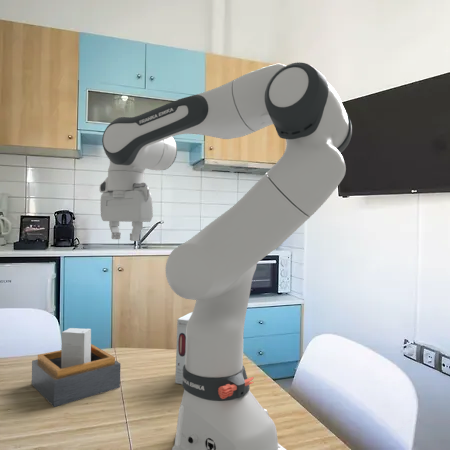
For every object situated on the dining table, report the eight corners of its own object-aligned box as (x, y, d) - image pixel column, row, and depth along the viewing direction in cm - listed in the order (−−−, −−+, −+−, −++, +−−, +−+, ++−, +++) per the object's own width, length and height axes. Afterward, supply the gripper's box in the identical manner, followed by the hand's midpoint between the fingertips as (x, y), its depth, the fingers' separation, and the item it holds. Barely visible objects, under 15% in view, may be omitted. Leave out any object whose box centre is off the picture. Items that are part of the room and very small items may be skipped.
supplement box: (174, 383, 98) (175, 318, 98) (188, 370, 107) (190, 311, 107) (208, 389, 95) (210, 322, 95) (220, 375, 104) (222, 314, 104)
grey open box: (119, 387, 95) (120, 357, 95) (54, 407, 84) (54, 373, 84) (88, 365, 109) (88, 339, 109) (27, 380, 98) (28, 351, 98)
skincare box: (91, 374, 98) (92, 328, 98) (83, 381, 93) (84, 333, 93) (68, 373, 98) (69, 327, 98) (59, 380, 94) (61, 332, 94)
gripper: (160, 183, 89) (158, 241, 89) (118, 188, 104) (117, 238, 104) (136, 180, 85) (134, 242, 85) (96, 186, 100) (95, 238, 100)
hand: (124, 240), depth 95 cm, fingers open, 8 cm apart
